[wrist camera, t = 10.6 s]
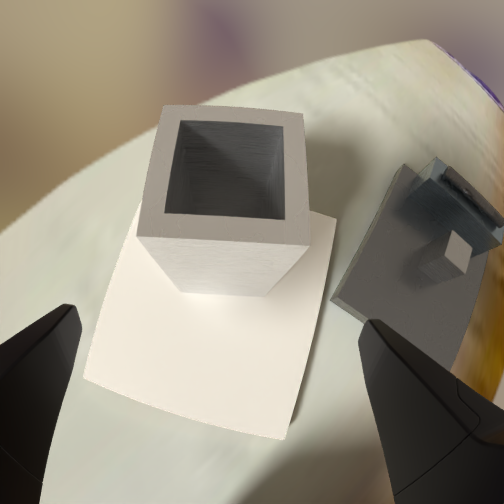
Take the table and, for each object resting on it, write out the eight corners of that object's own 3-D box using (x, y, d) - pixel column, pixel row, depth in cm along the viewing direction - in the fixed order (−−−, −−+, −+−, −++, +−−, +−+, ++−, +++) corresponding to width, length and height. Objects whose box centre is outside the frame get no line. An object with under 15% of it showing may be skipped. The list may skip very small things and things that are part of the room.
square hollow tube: (264, 296, 20) (310, 246, 10) (180, 292, 20) (136, 236, 9) (265, 219, 22) (302, 113, 11) (187, 214, 21) (163, 105, 11)
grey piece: (437, 373, 21) (487, 375, 15) (329, 300, 22) (365, 284, 16) (481, 244, 25) (522, 224, 19) (396, 171, 26) (429, 135, 20)
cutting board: (280, 434, 19) (284, 440, 17) (91, 376, 19) (82, 377, 17) (330, 226, 24) (336, 218, 22) (158, 178, 23) (155, 168, 22)
